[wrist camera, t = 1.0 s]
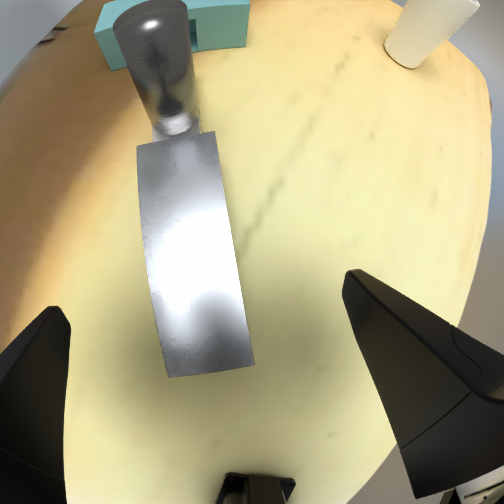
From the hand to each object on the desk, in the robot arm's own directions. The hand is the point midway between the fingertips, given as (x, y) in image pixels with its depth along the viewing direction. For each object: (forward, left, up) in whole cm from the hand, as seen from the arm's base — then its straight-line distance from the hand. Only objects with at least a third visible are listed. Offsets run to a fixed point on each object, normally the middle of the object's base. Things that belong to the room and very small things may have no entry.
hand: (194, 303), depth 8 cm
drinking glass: (+33, -14, -12) cm, 38 cm away
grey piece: (+7, +4, -11) cm, 14 cm away
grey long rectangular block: (+3, +2, -12) cm, 13 cm away
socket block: (+23, +12, -12) cm, 29 cm away
